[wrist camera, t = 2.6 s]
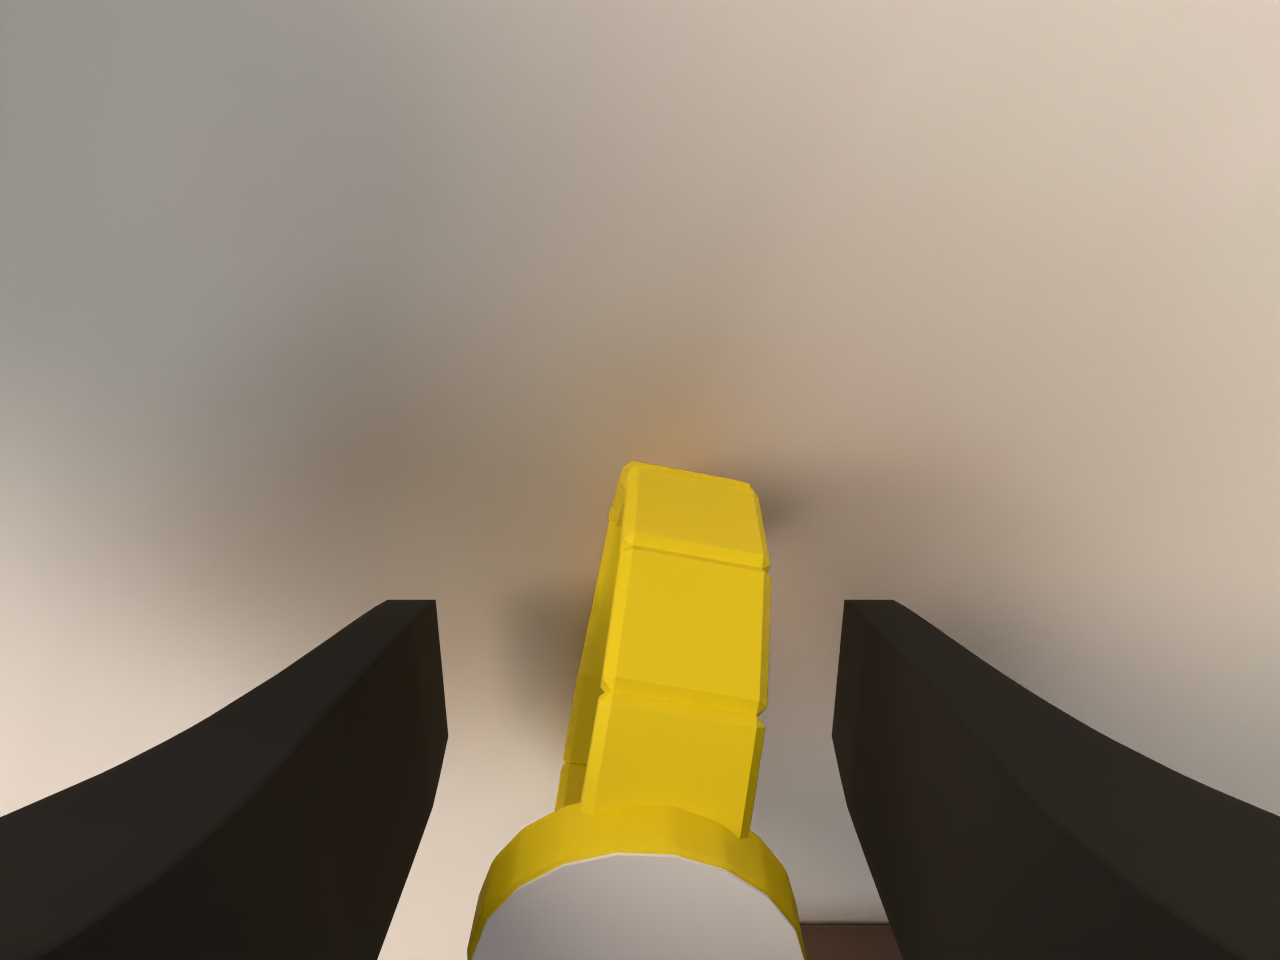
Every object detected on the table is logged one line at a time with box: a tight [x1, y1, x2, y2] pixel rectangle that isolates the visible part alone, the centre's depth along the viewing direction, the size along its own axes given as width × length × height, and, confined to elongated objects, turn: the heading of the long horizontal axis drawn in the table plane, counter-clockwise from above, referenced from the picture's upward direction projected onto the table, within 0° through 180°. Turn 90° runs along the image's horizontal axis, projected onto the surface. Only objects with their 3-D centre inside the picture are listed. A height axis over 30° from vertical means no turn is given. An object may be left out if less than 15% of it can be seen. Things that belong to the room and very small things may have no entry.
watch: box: [467, 461, 806, 960], centre depth 10 cm, size 6×3×6 cm, turn 169°
